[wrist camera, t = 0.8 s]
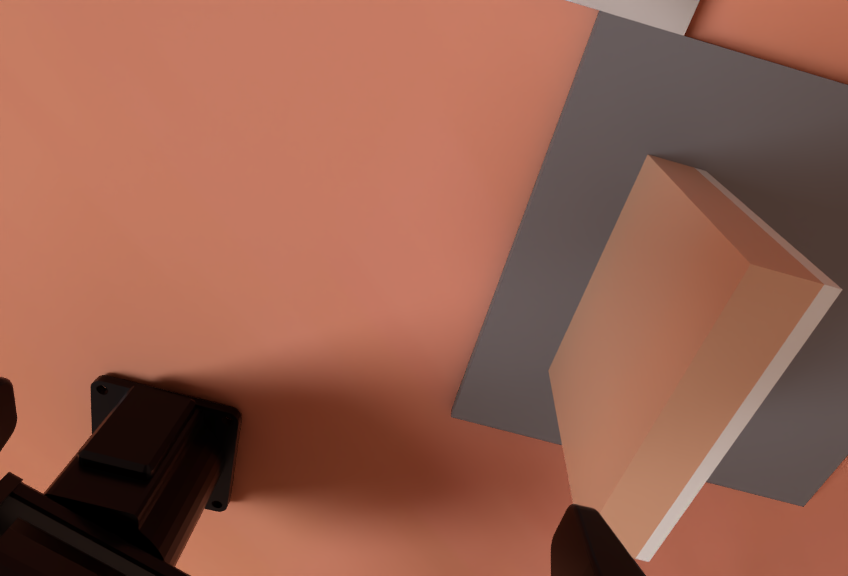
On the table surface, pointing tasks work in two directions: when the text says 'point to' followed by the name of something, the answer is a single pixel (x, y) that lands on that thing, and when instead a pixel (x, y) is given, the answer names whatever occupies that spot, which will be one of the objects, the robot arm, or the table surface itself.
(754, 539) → the table surface
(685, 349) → the tile
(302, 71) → the table surface
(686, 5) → the turner
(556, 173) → the mat
